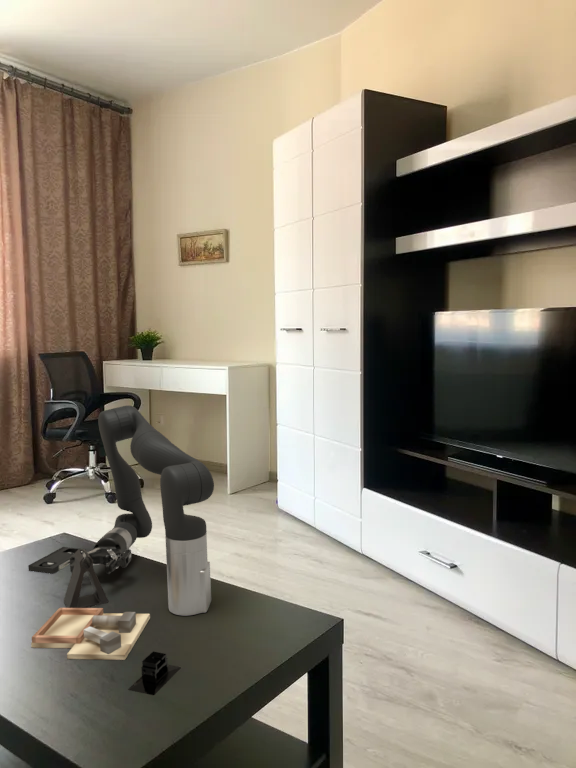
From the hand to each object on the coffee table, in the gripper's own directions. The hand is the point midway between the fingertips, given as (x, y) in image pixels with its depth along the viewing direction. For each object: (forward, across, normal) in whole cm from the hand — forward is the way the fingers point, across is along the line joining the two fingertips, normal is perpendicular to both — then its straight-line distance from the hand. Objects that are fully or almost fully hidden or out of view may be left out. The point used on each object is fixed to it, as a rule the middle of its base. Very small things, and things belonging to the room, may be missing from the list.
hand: (90, 570), depth 148 cm
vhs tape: (-21, -18, +7) cm, 28 cm away
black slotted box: (+34, +25, +7) cm, 43 cm away
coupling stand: (+19, +7, +7) cm, 21 cm away
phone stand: (+3, 0, +7) cm, 8 cm away
